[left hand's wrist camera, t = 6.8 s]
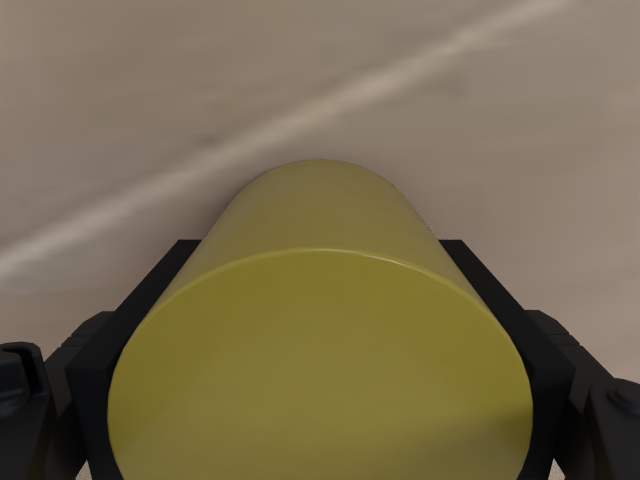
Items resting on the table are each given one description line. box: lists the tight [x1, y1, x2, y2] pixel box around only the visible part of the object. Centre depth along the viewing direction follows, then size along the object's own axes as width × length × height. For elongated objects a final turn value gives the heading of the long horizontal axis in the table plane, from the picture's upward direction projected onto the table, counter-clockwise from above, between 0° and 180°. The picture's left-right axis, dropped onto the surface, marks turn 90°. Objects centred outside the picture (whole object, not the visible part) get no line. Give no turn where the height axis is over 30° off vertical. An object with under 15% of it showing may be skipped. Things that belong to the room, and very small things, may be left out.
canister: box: [107, 159, 533, 480], centre depth 11 cm, size 8×8×8 cm
